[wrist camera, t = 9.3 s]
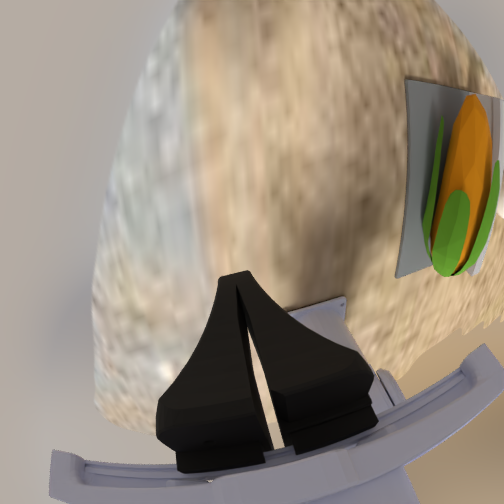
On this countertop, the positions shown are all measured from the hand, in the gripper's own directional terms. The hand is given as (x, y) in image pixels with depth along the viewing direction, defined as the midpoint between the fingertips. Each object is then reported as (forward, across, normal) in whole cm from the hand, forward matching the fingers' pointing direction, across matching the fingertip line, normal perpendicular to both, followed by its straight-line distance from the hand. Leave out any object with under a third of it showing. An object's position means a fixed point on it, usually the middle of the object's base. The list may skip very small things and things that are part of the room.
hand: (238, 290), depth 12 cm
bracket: (+10, -24, +2) cm, 26 cm away
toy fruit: (+10, -23, +1) cm, 25 cm away
